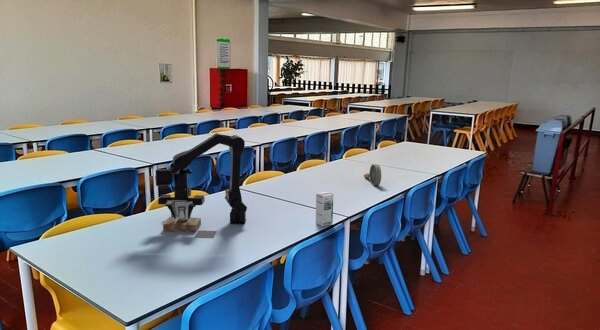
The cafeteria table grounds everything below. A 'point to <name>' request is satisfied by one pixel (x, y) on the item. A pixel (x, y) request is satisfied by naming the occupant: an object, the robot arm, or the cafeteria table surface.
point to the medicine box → (180, 205)
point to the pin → (182, 213)
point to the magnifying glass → (374, 174)
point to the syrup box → (324, 208)
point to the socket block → (181, 225)
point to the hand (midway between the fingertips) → (182, 218)
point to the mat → (205, 234)
